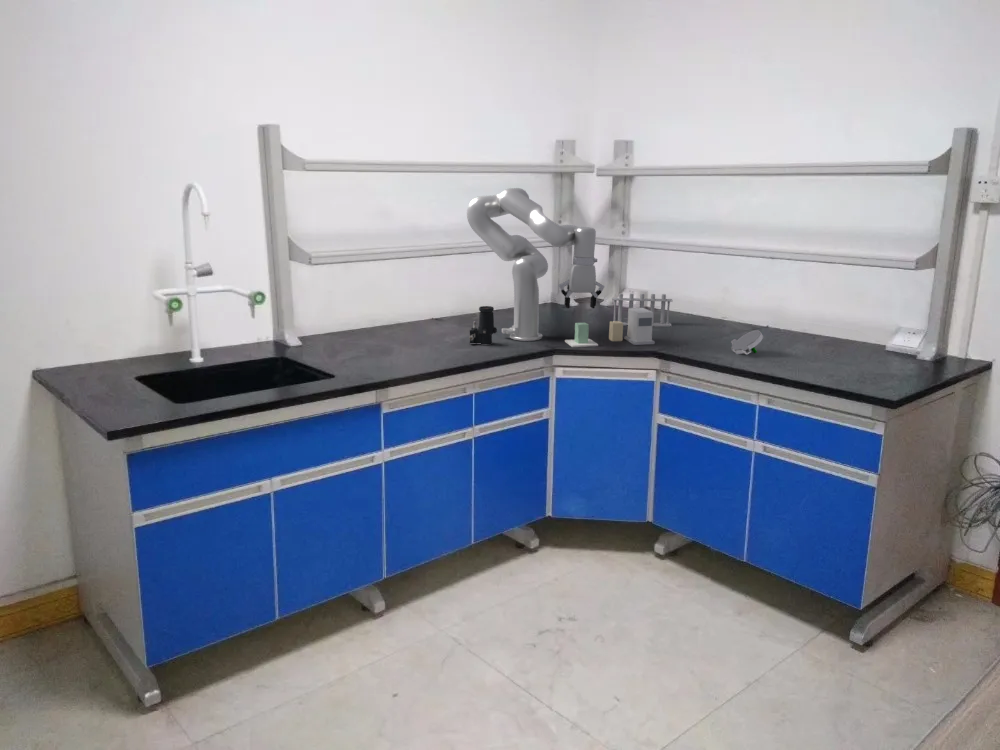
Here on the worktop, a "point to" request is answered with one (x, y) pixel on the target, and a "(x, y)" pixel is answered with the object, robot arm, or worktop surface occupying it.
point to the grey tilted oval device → (747, 342)
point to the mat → (574, 344)
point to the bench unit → (639, 326)
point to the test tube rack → (643, 307)
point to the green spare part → (581, 332)
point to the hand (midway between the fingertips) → (579, 307)
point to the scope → (483, 326)
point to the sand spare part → (616, 331)
